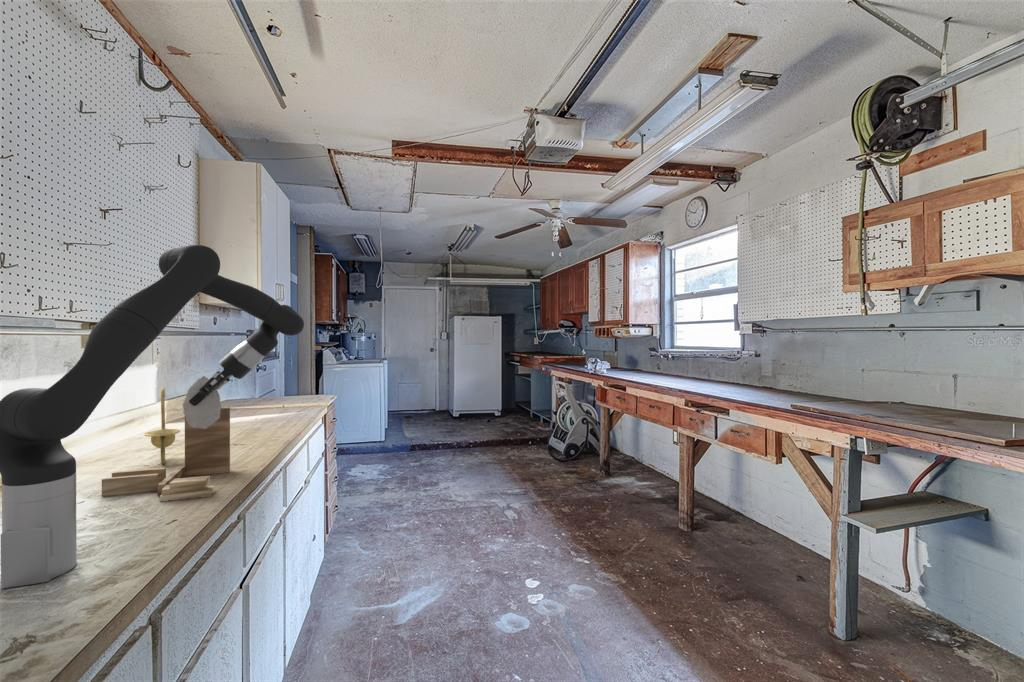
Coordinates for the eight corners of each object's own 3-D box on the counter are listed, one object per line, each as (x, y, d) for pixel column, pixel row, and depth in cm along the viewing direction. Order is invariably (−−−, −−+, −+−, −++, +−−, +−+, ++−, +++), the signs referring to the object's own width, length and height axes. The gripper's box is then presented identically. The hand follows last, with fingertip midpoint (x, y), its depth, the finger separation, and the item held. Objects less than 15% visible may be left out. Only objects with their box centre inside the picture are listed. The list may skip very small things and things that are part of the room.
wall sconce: (145, 460, 152) (145, 386, 151) (180, 456, 157) (180, 385, 157) (142, 470, 141) (142, 391, 140) (180, 465, 146) (180, 389, 146)
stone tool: (181, 431, 124) (181, 376, 124) (183, 429, 127) (183, 376, 127) (220, 428, 128) (221, 375, 129) (221, 426, 131) (222, 375, 131)
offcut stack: (210, 496, 119) (210, 479, 119) (159, 501, 115) (159, 484, 115) (214, 490, 123) (214, 474, 123) (166, 495, 119) (166, 478, 119)
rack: (215, 490, 124) (215, 418, 123) (157, 496, 119) (157, 421, 119) (230, 470, 141) (230, 407, 141) (180, 475, 136) (180, 409, 136)
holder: (157, 491, 123) (157, 474, 123) (101, 496, 118) (101, 479, 118) (166, 483, 129) (166, 467, 129) (113, 487, 125) (113, 471, 125)
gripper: (237, 349, 136) (189, 391, 132) (226, 351, 123) (173, 397, 119) (257, 366, 138) (210, 408, 134) (249, 369, 125) (197, 416, 121)
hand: (193, 403), depth 127 cm, fingers closed on stone tool, 2 cm apart
